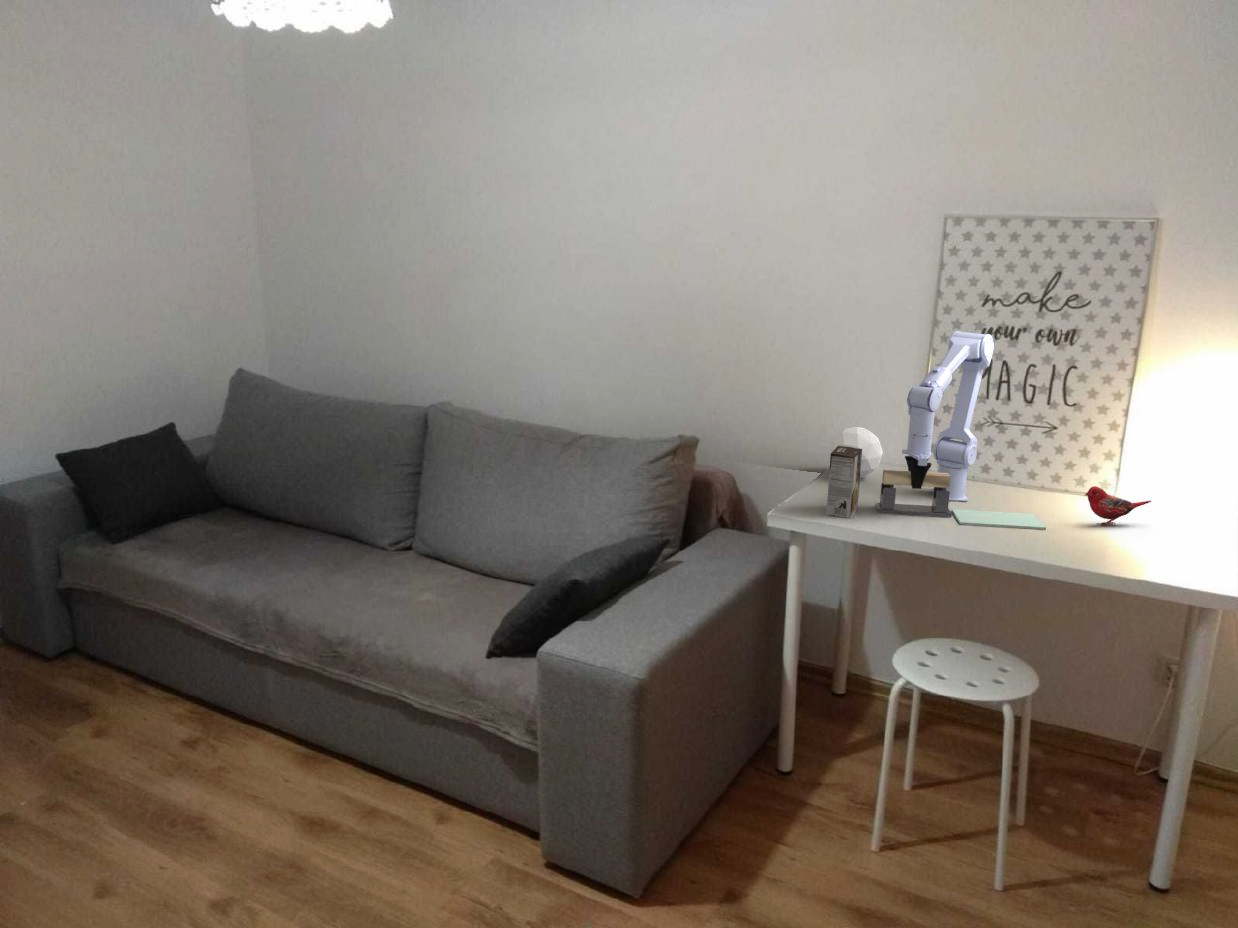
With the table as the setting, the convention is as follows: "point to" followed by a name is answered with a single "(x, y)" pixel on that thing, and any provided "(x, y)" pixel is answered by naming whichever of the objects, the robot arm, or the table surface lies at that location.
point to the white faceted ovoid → (860, 447)
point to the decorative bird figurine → (1109, 505)
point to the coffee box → (844, 481)
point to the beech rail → (905, 478)
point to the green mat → (998, 519)
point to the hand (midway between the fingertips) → (915, 486)
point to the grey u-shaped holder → (937, 508)
